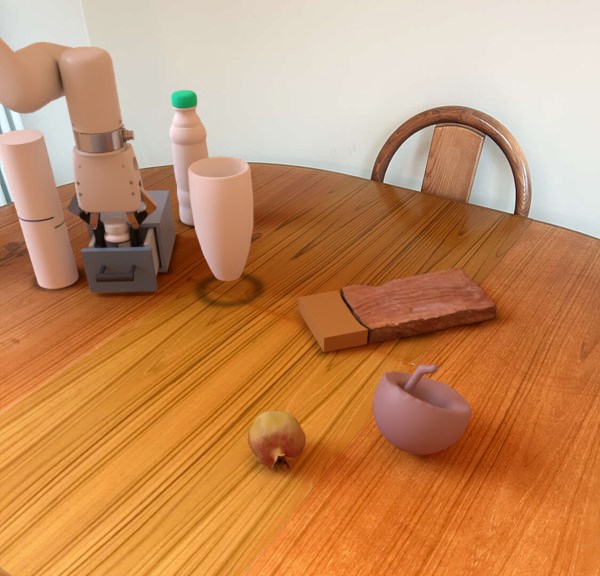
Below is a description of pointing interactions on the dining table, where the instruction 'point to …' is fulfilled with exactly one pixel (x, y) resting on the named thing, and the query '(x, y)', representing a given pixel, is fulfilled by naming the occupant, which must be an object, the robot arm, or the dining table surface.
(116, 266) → the drawer
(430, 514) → the dining table surface
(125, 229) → the pill bottle
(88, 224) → the robot arm
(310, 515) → the dining table surface
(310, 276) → the dining table surface
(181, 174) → the water bottle
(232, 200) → the cup
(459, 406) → the mortar and pestle
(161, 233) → the cabinet
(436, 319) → the brown flat slab
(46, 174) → the cylindrical container
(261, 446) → the fruit
